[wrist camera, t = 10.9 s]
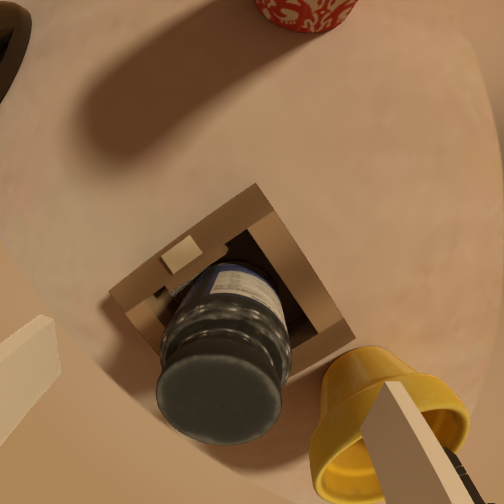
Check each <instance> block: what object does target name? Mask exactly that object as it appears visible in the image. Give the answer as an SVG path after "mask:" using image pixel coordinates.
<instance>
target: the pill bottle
mask: <svg viewBox="0 0 504 504" xmlns="http://www.w3.org/2000/svg"><path fill="white" fill-rule="evenodd" d="M159 352H160V354H159V355H160V361H161V365H162V372H161V375H160V377H159V379H158V381H157V386H156V400H157V404H158V407H159V409H160V411H161V412H162V414H163V416H164V418H165V419H166V420H167V421H168V422H169V423H170V424H171V425H172V426H173V427H174V428H175V429H177V430H178V431H179V432H181V433H182V434H184V435H186V436H188V437H190V438H192V439H195V440H197V441H200V442H204V443H207V444H214V445H236V444H243V443H247V442H249V441H251V440H254V439H256V438H258V437H260V436H262V435H263V434H265V433H266V432H267V431H268V430H270V429H271V428H272V426H273V425H274V424H275V423H276V421H277V420H278V417H279V414H280V411H281V406H282V398H281V389H282V388H283V386H284V385H285V383H286V381H287V379H288V377H289V374H290V372H291V367H292V350H291V346H290V340H289V336H288V332H287V328H286V323H285V319H284V314H283V310H282V305H281V301H280V297H279V292H278V289H277V287H276V285H275V283H274V281H273V279H272V278H271V277H270V275H268V274H267V273H266V272H265V271H264V270H263V269H262V268H260V267H258V266H256V265H254V264H252V263H249V262H247V261H243V260H227V261H224V262H220V263H217V264H215V265H212V266H210V267H209V268H207V269H206V270H205V271H204V272H203V273H201V274H200V275H199V277H198V278H197V279H196V281H195V283H194V284H193V286H192V287H191V289H190V290H189V292H188V293H187V295H186V297H185V298H184V300H183V301H182V303H181V304H180V306H179V308H178V309H177V311H176V312H175V314H174V315H173V317H172V318H171V320H170V322H169V323H168V325H167V327H166V329H165V330H164V332H163V335H162V338H161V342H160V350H159Z"/></svg>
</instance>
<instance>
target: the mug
mask: <svg viewBox="0 0 504 504" xmlns="http://www.w3.org/2000/svg"><path fill="white" fill-rule="evenodd" d="M357 1H358V0H255V3H256V5H257V7H258V9H259V10H260V12H261V13H262V14H263V15H264V16H265V17H266V18H267V19H269V20H270V21H272V22H273V23H275V24H277V25H279V26H281V27H283V28H286V29H289V30H293V31H298V32H305V33H307V32H309V33H312V32H322V31H327V30H329V29H332V28H334V27H336V26H338V25H339V24H341V23H342V22H343V21H344V20H345V18H346V17H347V16H348V15H349V13H350V12H351V10H352V8H353V7H354V5H355V4H356V2H357Z"/></svg>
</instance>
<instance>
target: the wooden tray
mask: <svg viewBox="0 0 504 504" xmlns="http://www.w3.org/2000/svg"><path fill="white" fill-rule="evenodd" d="M246 229H248V231H249V232H250V234H251V235H252V236H253V238H254V239H255V241H256V242H257V244H258V245H259V247H260V248H261V250H262V251H263V252H264V254H265V255H266V257H267V258H268V260H269V261H270V263H271V264H272V266H273V267H274V268H275V270H276V271H277V273H278V274H279V276H280V277H281V279H282V280H283V282H284V283H285V285H286V286H287V287H288V289H289V290H290V292H291V293H292V295H293V296H294V298H295V299H296V301H297V302H298V304H299V305H300V307H301V308H302V310H303V311H304V312H305V314H304V315H303V316H301V317H299V318H298V319H296V320H294V321H293V322H291V323H290V324H288V325H286V328H287V332H288V336H289V340H290V346H291V350H292V367H291V372H290V374H289V377H291V376H293V375H295V374H297V373H299V372H300V371H302V370H304V369H306V368H307V367H309V366H311V365H313V364H314V363H316V362H318V361H320V360H321V359H323V358H325V357H326V356H328V355H330V354H331V353H333V352H335V351H336V350H338V349H339V348H341V347H343V346H344V345H346V344H347V343H349V342H351V341H352V340H354V339H355V338H356V337H355V336H354V334H353V332H352V331H351V329H350V327H349V326H348V324H347V322H346V321H345V319H344V318H343V316H342V314H341V313H340V311H339V309H338V308H337V306H336V305H335V303H334V301H333V300H332V298H331V296H330V295H329V293H328V292H327V290H326V288H325V287H324V285H323V284H322V282H321V281H320V279H319V277H318V276H317V274H316V273H315V271H314V270H313V268H312V266H311V265H310V263H309V262H308V260H307V259H306V257H305V256H304V254H303V252H302V251H301V249H300V248H299V246H298V245H297V243H296V242H295V240H294V239H293V237H292V236H291V234H290V233H289V231H288V230H287V228H286V227H285V225H284V224H283V222H282V221H281V219H280V218H279V216H278V215H277V213H276V212H275V210H274V209H273V207H272V206H271V204H270V203H269V201H268V200H267V198H266V197H265V195H264V194H263V192H262V191H261V190H260V188H259V187H258V185H257V184H256V183H255V184H253V185H252V186H250V187H249V188H247V189H246V190H244V191H243V192H241V193H240V194H238V195H237V196H235V197H234V198H233V199H231V200H230V201H228V202H227V203H225V204H224V205H222V206H221V207H220V208H218V209H217V210H215V211H214V212H213V213H211V214H210V215H208V216H207V217H205V218H204V219H203V220H201V221H200V222H199V223H197V224H196V225H194V226H193V227H192V228H190V229H189V230H187V231H186V232H185V233H183V234H182V235H181V236H179V237H178V238H177V239H175V240H174V241H173V242H171V243H170V244H168V245H167V246H166V247H164V248H163V249H162V250H160V251H159V252H158V253H157V254H155V255H154V256H153V257H151V258H150V259H149V260H147V261H146V262H145V263H143V264H142V265H141V266H140V267H138V268H137V269H136V270H134V271H133V272H132V273H131V274H129V275H128V276H127V277H125V278H124V279H123V280H122V281H120V282H119V283H118V284H117V285H115V286H114V287H113V288H112V289H110V290H109V291H108V292H109V293H110V294H111V296H112V297H113V299H114V300H115V301H116V303H117V304H118V305H119V307H120V308H121V309H122V311H123V312H124V313H125V315H126V316H127V317H128V319H129V320H130V321H131V322H132V324H133V325H134V326H135V328H136V329H137V330H138V331H139V333H140V334H141V335H142V336H143V337H144V339H145V340H146V341H147V342H148V344H149V345H150V346H151V347H152V348H153V350H154V351H155V352H156V353H157V354H158V355H159V354H160V352H159V350H160V342H161V338H162V335H163V332H164V330H165V329H166V327H167V325H168V323H169V322H170V320H171V318H172V317H173V315H174V314H175V312H176V311H177V309H178V308H179V306H178V305H177V303H176V302H175V301H174V299H173V298H172V297H171V296H170V294H169V293H168V292H167V290H166V289H165V287H164V286H166V288H167V289H168V290H169V292H171V291H173V290H174V289H176V288H177V287H179V286H180V285H181V284H183V283H184V282H186V281H187V280H189V279H190V278H192V277H193V276H195V275H196V274H198V273H199V272H200V271H202V270H203V269H205V268H206V267H208V266H209V265H211V264H212V263H214V262H215V261H217V260H218V259H220V258H221V257H223V256H224V255H225V254H226V253H227V251H228V249H229V247H230V245H231V242H230V240H231V239H233V238H234V237H235V236H237V235H238V234H240V233H241V232H243V231H244V230H246ZM159 357H160V355H159ZM289 377H288V378H289Z"/></svg>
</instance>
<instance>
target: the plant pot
mask: <svg viewBox="0 0 504 504" xmlns="http://www.w3.org/2000/svg"><path fill="white" fill-rule="evenodd" d="M385 381H400V382H401V383H402V385H403V387H404V388H405V390H406V391H407V393H408V394H409V396H410V397H411V399H412V400H413V402H414V403H415V405H416V406H417V408H418V410H419V411H420V413H421V414H422V416H423V417H424V419H425V421H426V422H427V424H428V425H429V427H430V429H431V430H432V432H433V433H434V435H435V437H436V438H437V440H438V442H439V443H440V445H441V447H442V448H443V447H447V448H449V449H450V450H451V451H452V452H453V453H454V454H456V453H457V452H458V451H459V450H460V448H461V446H462V445H463V443H464V442H465V439H466V437H467V435H468V431H469V428H470V416H469V413H468V411H467V409H466V407H465V406H464V405H463V403H462V402H461V401H460V399H459V398H458V397H457V396H456V394H455V393H454V392H453V391H452V390H451V389H450V388H449V387H448V386H447V384H446V383H444V382H443V381H442V380H441V379H439V378H437V377H435V376H432V375H429V374H424V373H418V372H416V371H415V370H414V369H412V368H411V367H410V366H408V365H407V364H405V363H404V362H403V361H401V360H400V359H398V358H397V357H396V356H394V355H393V354H392V353H390V352H389V351H387V350H385V349H383V348H380V347H375V346H367V347H361V348H357V349H354V350H351V351H349V352H347V353H345V354H343V355H341V356H340V357H339V358H338V359H336V360H335V361H334V362H333V363H332V364H331V366H330V367H329V368H328V370H327V371H326V373H325V375H324V377H323V380H322V385H321V401H320V415H319V424H318V425H317V427H316V428H315V430H314V432H313V434H312V437H311V440H310V444H309V459H310V469H311V476H312V483H313V487H314V490H315V491H316V493H317V494H318V495H319V497H321V498H322V499H324V500H325V501H328V502H330V503H333V504H373V503H378V502H381V501H385V498H384V495H383V492H382V489H381V486H380V483H379V481H378V478H377V475H376V472H375V470H374V467H373V464H372V461H371V459H370V456H369V453H368V451H367V448H366V445H365V443H364V440H363V437H362V435H361V432H360V427H361V426H362V424H363V422H364V420H365V418H366V417H367V415H368V413H369V411H370V409H371V407H372V406H373V404H374V402H375V400H376V398H377V396H378V394H379V392H380V390H381V388H382V386H383V384H384V382H385Z"/></svg>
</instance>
